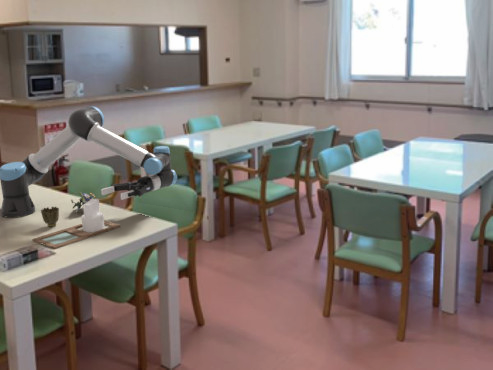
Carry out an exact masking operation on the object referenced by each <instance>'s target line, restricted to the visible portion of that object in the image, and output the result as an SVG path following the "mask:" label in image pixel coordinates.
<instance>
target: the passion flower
mask: <svg viewBox="0 0 493 370" xmlns="http://www.w3.org/2000/svg"><path fill="white" fill-rule="evenodd" d="M78 194H79V195H80V198H79V199H78V200H79V201H77V202H75V201H74V200H73V199H70V200H71V204H73V203H74V205H73V206H72V209H75V208H76V207H77V211H76V212H77V213H78V212H79V210H81V207H83V204H85V203H87V202H88V201H90V200H91V199H97V196H96V195H95V194H94V192H90V193H89V194H90V195H89V194H87V193H84V192H81V191H79V193H78Z"/></svg>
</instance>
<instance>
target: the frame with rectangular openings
mask: <svg viewBox="0 0 493 370" xmlns="http://www.w3.org/2000/svg"><path fill="white" fill-rule="evenodd" d="M104 226H108V227H104V229H102V230H99V231H96V232H85V231H83V230H81V229H80V228H83V226H82V223H80V224H76V225H73V226H70V227H66V228H64V229H59V230H56V231H54V232H50V233H47V234H44V235H41V236H38V237H34V238H32V242H34V243H37V244H40V243H43V244H45V245H47V246H48V248H50V249H53V250H57V249H59V248H62V247H65V246H68V245H71V244H73V243H74V244H75V243H77V242H79V241H83V240H85V239H89V238H92V237H94V236H99V235H101V234H103V233H106V232H110V231H113V230H115V229H118V228H121V225H120V224H118V223H114V222H110V221H108V220H107V221H106V220H104ZM45 245H44V246H45ZM47 246H46V247H47Z"/></svg>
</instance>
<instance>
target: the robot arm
mask: <svg viewBox="0 0 493 370" xmlns="http://www.w3.org/2000/svg"><path fill="white" fill-rule="evenodd" d="M67 123H68V124H67V126H65V127H64V129H63V130H62V131H60V132H59V133H57V135H55V137H53V138H52V139H51V140H50V141H49V142H48V143H46V144H45V145H44V146H43V147H41V149H39V150H38V151H37V152H36V153H30V154H29V155H28V156H26V158H24V159H23V160H22V161H14V162H13V161H12V162H9V163H5V164H3V165H1V166H0V186H1V187H0V188H1V192H2V193H1V194H2V203H1V207H0V213H1V214H0V215H1V216H2V215H3V216H7V217H6V218H19V217H18V216H21V217H25V215H26V216H29V215H32V214H34V213H35V212H36V206H35V204H34V201H33V200H32V198H31V196H30V191H29V189H30V188H29V186H32V185H33V184H35V183H37V182H39V181H41V179H43V178H44V176H45V175H46V174H47V173H48V171H49V167H50V166H52V164H53V163H56V161H57V160H58V159H60V158H61V157H62V156H63V155H65V153H66V152H67V151H68V150H70V149H72V148H73V146H74V145H76V144H77V143H78V142H80V140H81V139H82V140H85V141H86V142H88V143H89V142H93V143H95V144H97V145H99V146H101V147H103V148H105V149H107V150H108V151H110V152H112V153H114V154H116V155H118V156H120V157H122V158H123V159H125V160H127V161H130V162H131V163H133V164H135V165H137V166H139V167H141V168H143V170H144V171H145V172H146V173H147V175H145V176H141V177H139V178H138V179H137V181H134V182H132V181H127V182H121V183H114V184H110V186H109V187H105V188H101V189H100V193H101V196H105V195H108V194H109V195H110V194H112V193H113V194H115V192H120V191H124V192H121V193H120V200H121V201H122V200H126V199H129V198H132V197H137V196H138V197H142V196H143V195H145V194H147V193H150V192H155V191H157V190H159V189H160V190H161V189H162V188H167V187H171V186H173V185H175V184H176V182H177V180H178V175H177V173H176V171H175V170H174V169H172V163H171V151H170V147H169V146H167V145H158V146H155V147H154V148H153V153H152V152H149V151H148V150H146V149H144V148H142V147H140V146H138V145H137V144H135V143H133V142H131V141H129V140H126V138H123V137H121V136H119V135H117V134H116V133H114V132H112V131H110V130H108V129H106V128H104V127H103V126H104V123H105V116H104V114H103V112H102V110H101V109H100V108H98V107H96V106H93V105H92V106H88V105H87V106H85V107H83V108H79V109H77V110H75V111H73V112H72V113H70V115H69V118H68V121H67ZM33 212H34V213H33ZM3 216H2V217H3Z"/></svg>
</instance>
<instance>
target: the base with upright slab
mask: <svg viewBox="0 0 493 370" xmlns="http://www.w3.org/2000/svg"><path fill="white" fill-rule="evenodd" d="M82 207H83V214H82V215H81V224H82V226H83V227H82V231H84V232H87V233H93V232H96V231H99V230H102V229H105V225H104V221H105V220H104V213H102V212H100V211H101V209H100V200H99V198H92V199H91V200H90V201H88V202H87V203H85V204H83V205H82Z"/></svg>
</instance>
